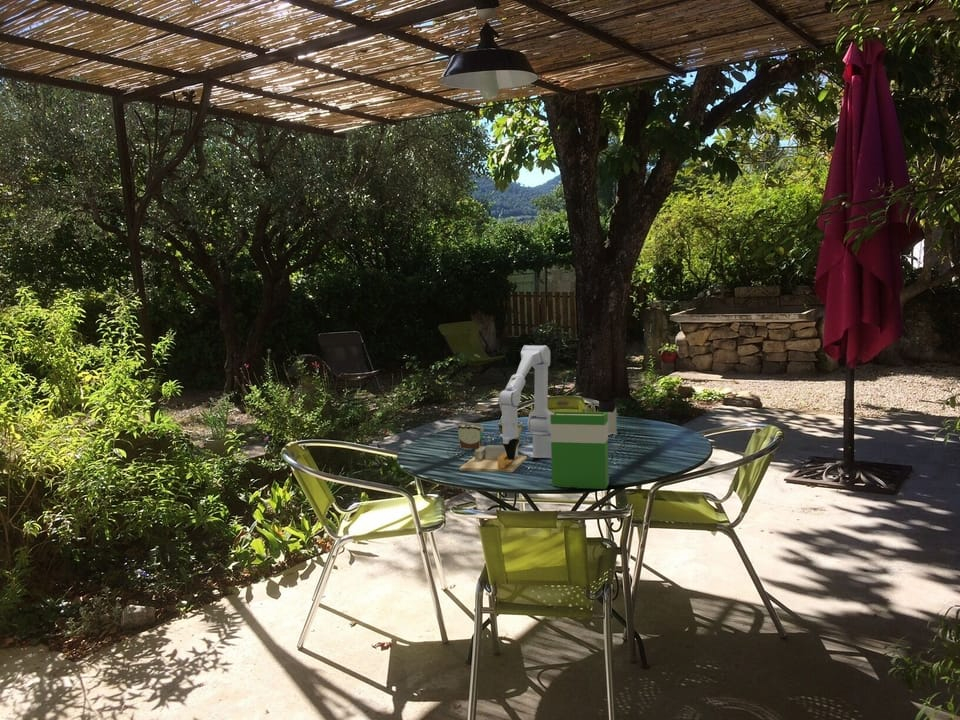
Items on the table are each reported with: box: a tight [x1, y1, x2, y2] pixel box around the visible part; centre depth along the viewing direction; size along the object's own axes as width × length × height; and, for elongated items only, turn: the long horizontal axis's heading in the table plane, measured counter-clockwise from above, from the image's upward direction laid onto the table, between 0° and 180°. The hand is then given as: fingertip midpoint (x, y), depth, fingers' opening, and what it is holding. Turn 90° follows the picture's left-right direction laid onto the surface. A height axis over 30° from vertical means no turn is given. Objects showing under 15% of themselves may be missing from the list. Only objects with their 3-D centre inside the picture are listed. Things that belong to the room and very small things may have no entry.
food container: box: [456, 422, 485, 451], centre depth 318 cm, size 12×6×10 cm, turn 59°
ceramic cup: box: [498, 421, 523, 448], centre depth 319 cm, size 13×10×10 cm
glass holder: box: [584, 399, 618, 435], centre depth 337 cm, size 9×14×15 cm, turn 89°
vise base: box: [459, 445, 528, 473], centre depth 286 cm, size 20×23×5 cm
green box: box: [550, 411, 610, 490], centre depth 250 cm, size 18×7×24 cm, turn 72°
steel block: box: [484, 444, 506, 460], centre depth 290 cm, size 8×4×5 cm, turn 73°
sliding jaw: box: [498, 446, 519, 468], centre depth 284 cm, size 2×20×4 cm, turn 163°
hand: (511, 459), depth 277 cm, fingers closed, pressing on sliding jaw
